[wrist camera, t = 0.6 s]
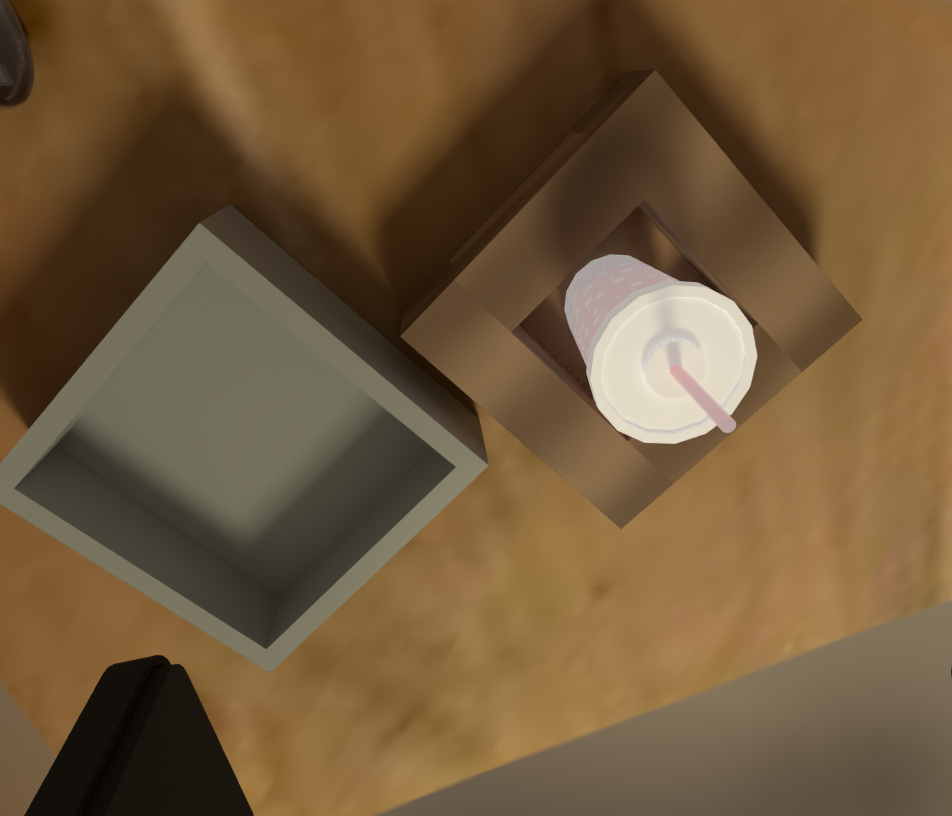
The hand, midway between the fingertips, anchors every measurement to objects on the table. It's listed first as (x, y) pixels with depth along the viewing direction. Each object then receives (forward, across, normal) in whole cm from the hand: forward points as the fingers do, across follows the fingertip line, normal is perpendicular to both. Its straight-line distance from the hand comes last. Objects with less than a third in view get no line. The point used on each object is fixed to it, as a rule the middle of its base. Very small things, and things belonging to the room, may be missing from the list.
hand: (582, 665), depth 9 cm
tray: (+26, +12, +6) cm, 30 cm away
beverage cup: (+27, -6, +4) cm, 28 cm away
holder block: (+27, -6, +4) cm, 28 cm away
